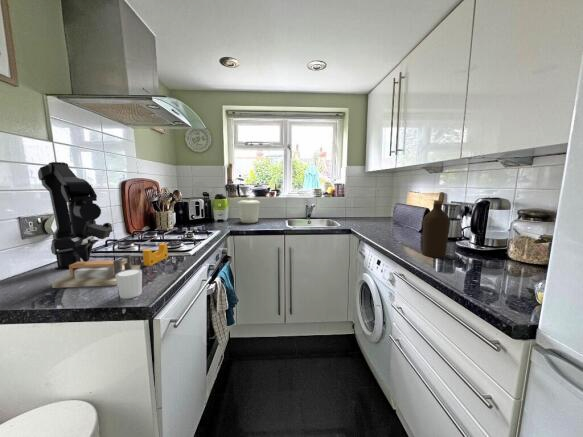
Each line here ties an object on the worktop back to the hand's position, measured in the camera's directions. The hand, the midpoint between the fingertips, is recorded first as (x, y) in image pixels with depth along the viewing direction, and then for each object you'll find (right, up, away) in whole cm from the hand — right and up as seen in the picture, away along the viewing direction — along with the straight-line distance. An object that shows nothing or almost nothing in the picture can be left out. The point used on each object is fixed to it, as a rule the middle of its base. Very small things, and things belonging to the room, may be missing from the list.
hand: (86, 261), depth 91 cm
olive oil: (+138, -2, +27) cm, 141 cm away
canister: (+39, +12, +116) cm, 123 cm away
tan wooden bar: (+4, -4, +1) cm, 6 cm away
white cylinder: (+24, -8, -12) cm, 28 cm away
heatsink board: (+4, -6, +1) cm, 7 cm away
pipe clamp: (+14, -4, +20) cm, 24 cm away
